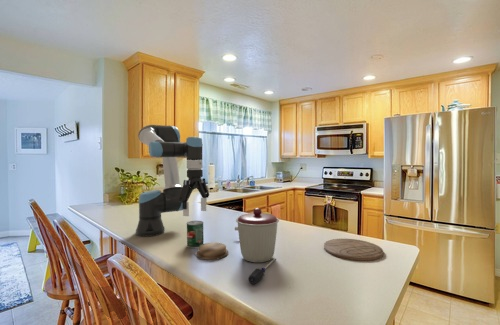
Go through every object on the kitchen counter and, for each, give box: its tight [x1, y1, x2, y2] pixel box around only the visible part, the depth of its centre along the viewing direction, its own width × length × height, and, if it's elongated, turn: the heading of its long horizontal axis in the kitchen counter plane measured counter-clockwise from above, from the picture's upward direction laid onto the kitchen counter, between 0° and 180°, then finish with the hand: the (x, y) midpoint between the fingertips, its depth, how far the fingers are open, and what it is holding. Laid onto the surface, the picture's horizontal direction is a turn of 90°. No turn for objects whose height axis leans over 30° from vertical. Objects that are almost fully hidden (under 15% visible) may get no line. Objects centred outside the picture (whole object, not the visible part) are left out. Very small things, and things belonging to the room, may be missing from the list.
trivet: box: [323, 238, 384, 262], centre depth 120 cm, size 25×25×2 cm
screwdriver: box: [247, 257, 277, 285], centre depth 99 cm, size 26×4×4 cm, turn 157°
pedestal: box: [195, 242, 229, 261], centre depth 117 cm, size 14×14×3 cm
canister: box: [235, 207, 280, 264], centre depth 111 cm, size 18×18×21 cm
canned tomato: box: [186, 220, 204, 249], centre depth 128 cm, size 8×8×11 cm
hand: (195, 213), depth 128 cm, fingers open, 13 cm apart
